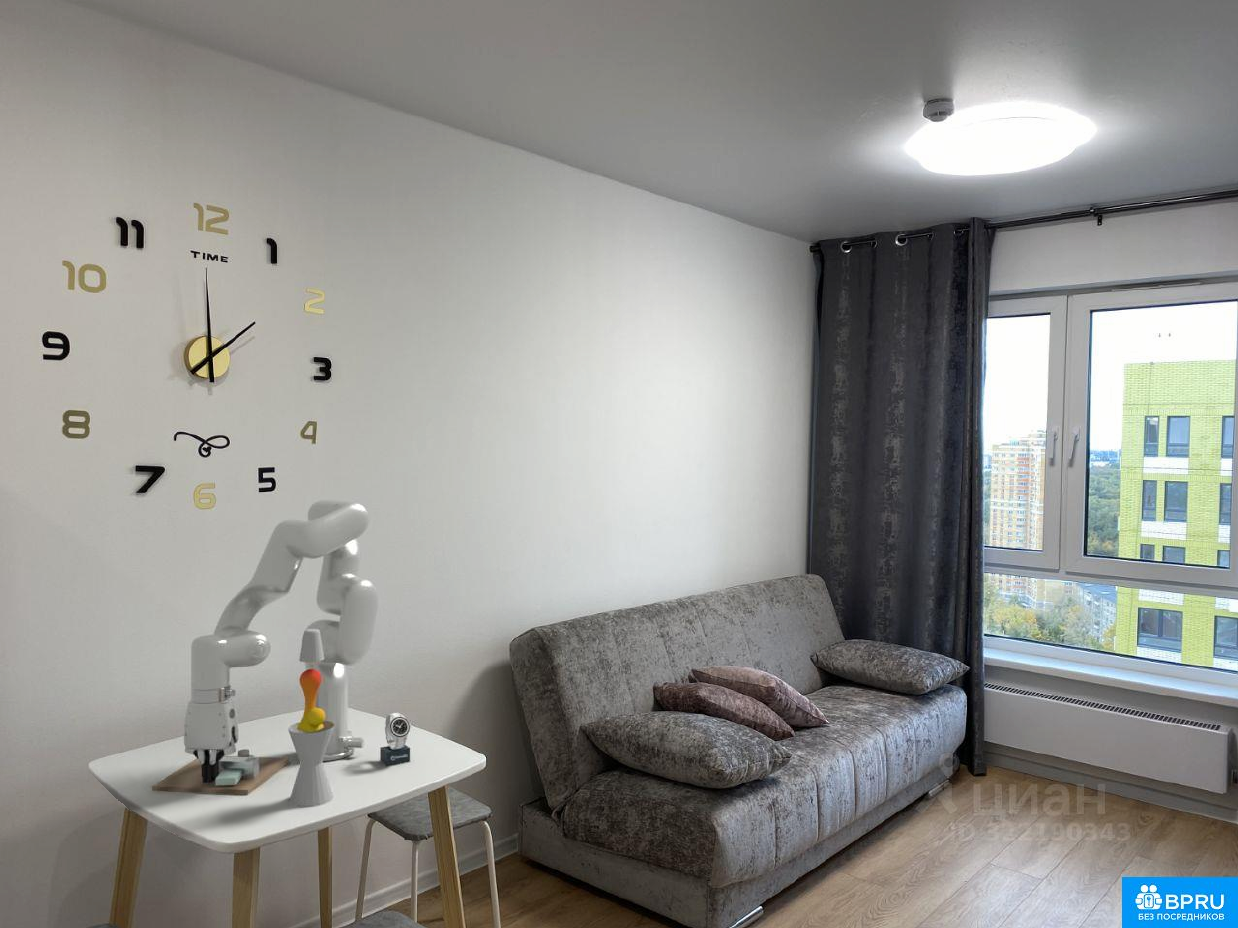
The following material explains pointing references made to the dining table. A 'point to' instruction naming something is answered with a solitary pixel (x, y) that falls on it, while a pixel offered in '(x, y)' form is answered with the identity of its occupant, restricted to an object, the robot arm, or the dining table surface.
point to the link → (230, 776)
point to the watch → (396, 740)
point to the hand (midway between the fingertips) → (210, 780)
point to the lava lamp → (311, 732)
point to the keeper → (242, 765)
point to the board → (193, 781)
